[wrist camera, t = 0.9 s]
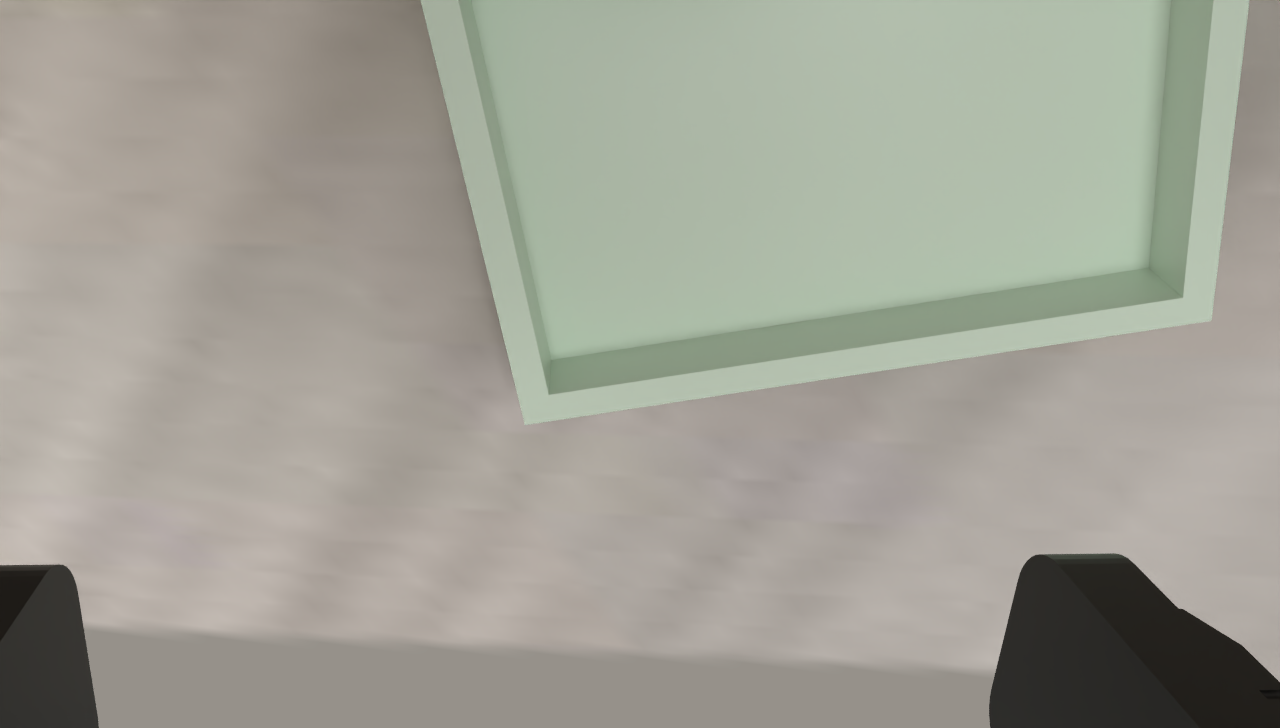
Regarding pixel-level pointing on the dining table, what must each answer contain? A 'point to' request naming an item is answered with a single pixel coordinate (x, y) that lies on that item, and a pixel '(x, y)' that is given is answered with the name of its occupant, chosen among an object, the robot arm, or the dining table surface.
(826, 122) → the tray
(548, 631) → the dining table surface
